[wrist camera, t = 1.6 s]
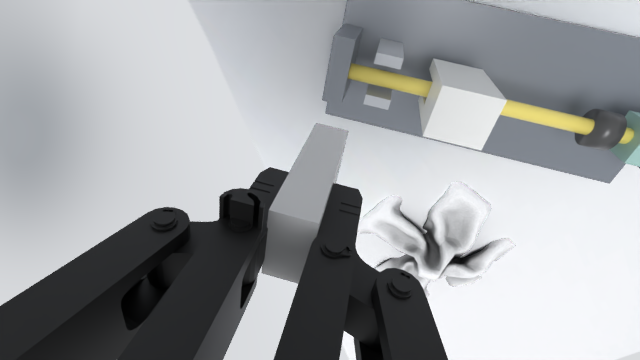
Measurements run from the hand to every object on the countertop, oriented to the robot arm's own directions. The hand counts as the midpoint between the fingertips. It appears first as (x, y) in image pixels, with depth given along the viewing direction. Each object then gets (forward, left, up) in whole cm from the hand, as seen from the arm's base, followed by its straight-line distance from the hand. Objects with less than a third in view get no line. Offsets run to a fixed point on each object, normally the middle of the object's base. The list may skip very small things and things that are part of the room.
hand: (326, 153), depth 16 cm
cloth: (+20, +15, -20) cm, 32 cm away
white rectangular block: (0, +8, -16) cm, 17 cm away
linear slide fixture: (0, +12, -19) cm, 22 cm away
